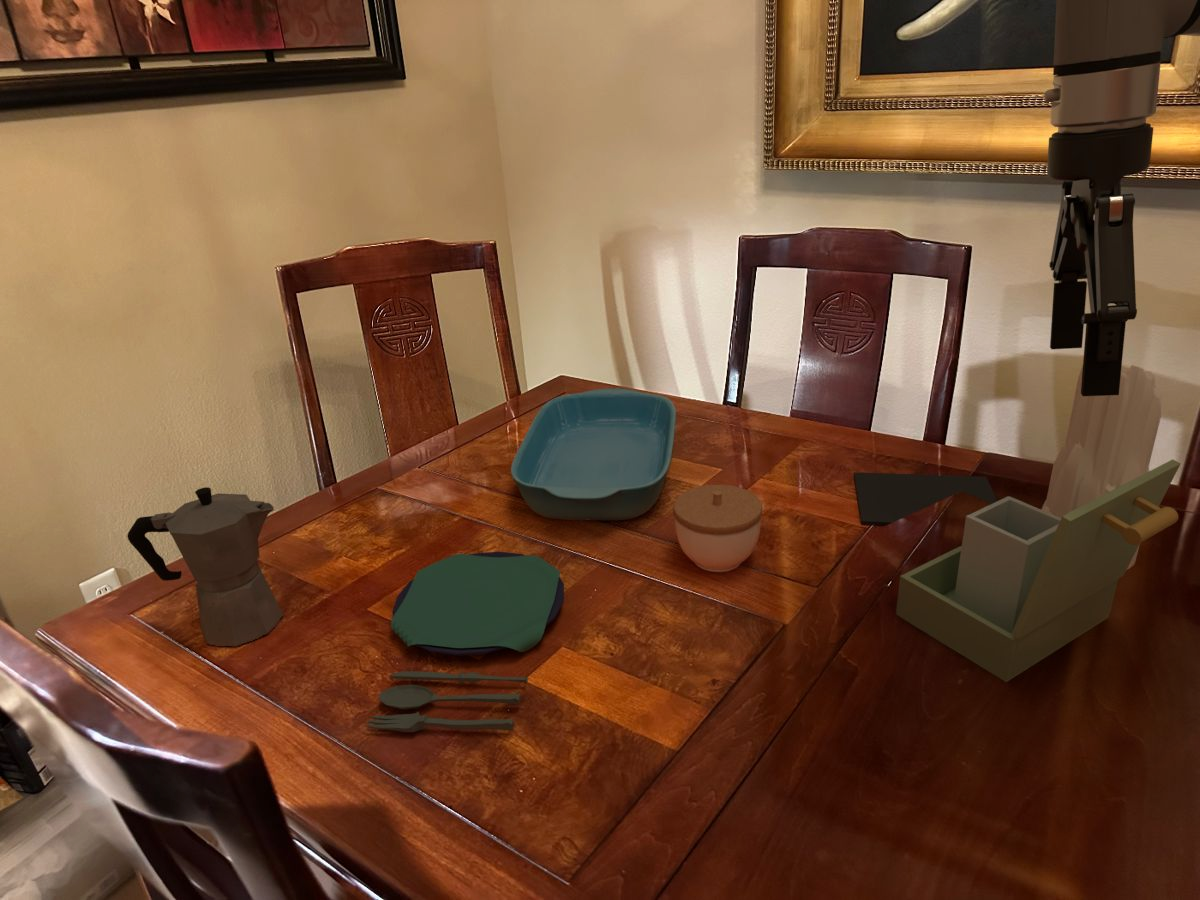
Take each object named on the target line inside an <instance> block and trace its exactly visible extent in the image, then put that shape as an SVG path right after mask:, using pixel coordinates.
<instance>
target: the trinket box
mask: <svg viewBox="0 0 1200 900" xmlns="http://www.w3.org/2000/svg"><path fill="white" fill-rule="evenodd" d="M672 509H673V515H674V530H675V534H676V535H675V536H676V538H677V539H676V540H677V541H678V542H677V543H678V545H679V547H680V548H681V550H682V552H683V553H684V554H685V556H686V557H687V558H689V559H690V561H692V562H693V564H694V565H696V567H698V568H700V569H702V570H703V571H708V572H712V573H726V572H730V571H733V570H735V569H737V568H738V567H740V566H741V564H742V563H744V562H745V561H746V560H747V559H748V558H749V557H750V556H751V555H752V553H753V552H754V551H755V549H756V547H757V544H758V542H759V539H760V535H761V534H760V533H761V528H762V516H763V503H762V501H761V500H760V498H759V497H758V496H757V495H756V494H754V493H753V492H751V491H750V490H747V489H745V488H743V487H740V486H736V485H729V484H705V485H700V486H695V487H692V488H689V489H687V490H685V491H683V492H682V493H680V494H679V495H678V496H677V497H676V498H675V500H674V501H673V505H672Z"/></svg>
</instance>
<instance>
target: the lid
mask: <svg viewBox="0 0 1200 900" xmlns="http://www.w3.org/2000/svg"><path fill="white" fill-rule="evenodd" d="M1181 464H1182V463H1181V462H1178V461H1177V460H1175V459H1170V460H1169V461H1167V462H1164V463H1163V464H1160V465H1159V466H1157V467H1155V468H1153V469H1151V470H1149V472H1147V473H1145V474H1143V475H1141V476H1139V477H1137V478H1135V479H1134V480H1132V481H1130V482H1128V483H1126V484H1124V485H1122V486H1120V487H1118V488H1116V489H1114V490H1112V491H1110V492H1108V493H1106V494H1104V495H1102V496H1101V497H1099V498H1097V499H1095V500H1093V501H1091V502H1089V503H1087V504H1085V505H1083V506H1081V507H1079V508H1077V509H1075V510H1073V511H1071V512H1069V513H1067V514H1066V515H1064V516H1062V518H1061V520H1060V523H1059V525H1058V527H1057V529H1056V532H1055V534H1054V536H1053V539H1052V541H1051V543H1050V546H1049V548H1048V550H1047V553H1046V555H1045V557H1044V559H1043V562H1042V564H1041V566H1040V569H1039V571H1038V573H1037V576H1036V578H1035V580H1034V583H1033V585H1032V587H1031V589H1030V592H1029V594H1028V596H1027V599H1026V601H1025V603H1024V606H1023V608H1022V610H1021V613H1020V615H1019V617H1018V620H1017V622H1016V624H1015V626H1014V629H1013V631H1012V633H1011V634H1012V635H1014V636H1015V637H1016V638H1018V639H1019V638H1021V637H1023V636H1024V635H1026V634H1028V633H1029V632H1031V631H1033V630H1034V629H1036V628H1038V627H1039V626H1041V625H1043V624H1044V623H1046V622H1048V621H1049V620H1051V619H1053V618H1054V617H1056V616H1057V615H1059V614H1061V613H1062V612H1064V611H1066V610H1067V609H1069V608H1071V607H1072V606H1074V605H1076V604H1077V603H1079V602H1081V601H1082V600H1084V599H1086V598H1087V597H1089V596H1091V595H1092V594H1094V593H1096V592H1097V591H1099V590H1101V589H1102V588H1104V587H1106V586H1107V585H1109V584H1111V583H1112V582H1114V581H1116V580H1117V579H1118V580H1119V579H1121V578H1123V577H1124V575H1125V574H1126V572H1127V570H1128V569H1127V568H1128V566H1129V564H1130V562H1131V560H1132V558H1133V556H1134V554H1135V552H1136V550H1137V548H1138V546H1139V547H1140V545H1141V543H1143V542H1145V541H1146V540H1148V539H1150V538H1152V537H1153V536H1155V535H1156V534H1158V533H1160V532H1162V531H1164V530H1166V529H1167V528H1169V527H1170V526H1172V525H1174V524H1176V523H1177V522H1178V521H1179V514H1178V512H1177V510H1176V509H1175V508H1173V507H1170V506H1164V507H1163V506H1162V507H1160V505H1161V503H1162V502H1163V499H1164V497H1165V495H1166V493H1167V491H1168V489H1169V488H1170V486H1171V484H1172V482H1173V480H1174V478H1175V476H1176V474H1177V472H1178V470H1179V468H1180V466H1181ZM1139 544H1140V545H1139Z"/></svg>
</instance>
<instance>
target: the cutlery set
mask: <svg viewBox="0 0 1200 900" xmlns="http://www.w3.org/2000/svg"><path fill="white" fill-rule="evenodd" d="M560 576H561V571H560V569H558V568H556V567H555V566H554V565H552V564H551V563H549V562H547V561H546V560H545V559H543V558H541V557H540V556H538V555H533V554H527V555H526V554H523V553H518V552H517V553H516V552H507V551H488V552H475V553H470V554H465V553H456V554H453V555H451V556H448V557H445V558H443V559H439V560H438V561H436V562H433V563H431V564H429V565H427V566H426V567H423V568H421V569H418V570H417V572H416V574H415V575H414V577H413V578H412V579H411V580H410V581H408V582H407V584H406V585H405V586H404V587H403V589H402V590H401V591H400V592H399V594H397V596H396V599H395V602H394V606H393V608H392V612H391V613H392V619H391V621H390V628H391V631H392V632H393V633H394V634H395V635H396V636H398V637H399V639H400V640H401V641H402V642H403V643H404V644H405V646H407V648H410V647H411V646H414V647H415V646H416V647H418V648H420V649H422V650H425V651H426V652H429V653H433V654H442V655H448V656H455V657H458V656H459V657H460V656H461V657H463V656H472V655H487V654H490V653H493V652H497V651H502V650H504V649H505V650H506V649H508V648H509V649H512V650H514V651H517V652H519V653H527V652H529V651H530V650H531V649H533V648H534V647H536V646H537V645H538V643H539V642H540V641H541V640H542V638H543V635H544V633H545V629H546V627H547V626H549V624H551V623H552V622H553V621H554V620H555V619H556V618H557V616H558V614H559V612H560V610H561V608H562V606H563V604H564V602H565V584H564V582H563V580H562V579H561V577H560ZM526 651H527V652H526ZM389 677H390V679H392V680H393V679H394V680H423V681H424V680H426V681H428V680H429V681H452V682H453V681H454V682H458V683H459V686H462V684H463V683H465V682H467V683H470V684H475V683H478V682H481V681H489V682H490V681H491V682H495V681H497V682H498V681H499V682H500V681H502V682H503V681H504V682H513V683H514V682H515V683H524V685H527V684H528V681H529V680H528V676H527V675H526V676H499V675H485V674H480V673H478V672H475V671H471V672H468V673H465V672H464V671H463V670H461V671H460V673H459V674H457V673H451V672H450V673H449V672H444V671H443V672H440V671H422V670H421V671H417V670H416V671H415V670H414V671H413V670H403V671H398V672H394V673H391V674H390V676H389ZM521 698H522V697H521V693H474V694H463V695H462V694H461V695H460V694H459V695H456V694H455V695H444V696H443V695H441V696H438V695H437V694H436V693H435V692H434V691H432V689H430V688H429V687H427V686H422V685H415V684H404V685H395V686H392V687H390V688H386V689H385V690H382V691H380V694H379V696H378V697H377V700H379V701H380V702H382V703H383V704H384V705H385V706H388V707H390V708H394V709H398V710H413V709H419V708H421V707H423V706H426V705H428V704H430V703H436V702H438V703H439V702H461V703H462V702H479V703H480V702H481V703H499V704H510V705H520V702H521ZM365 726H366V728H369V729H374V730H386V731H387V730H388V731H390V730H391V731H395V732H401V733H402V732H403V733H416V732H419V731H423V730H426V727H435V728H436V727H437V728H444V729H452V730H497V731H498V730H499V731H513V730H514V727H515V723H514V719H513V718H504V719H501V718H485V719H448V718H438V717H437V718H436V717H428V715H427V714H423V715H420V712H419V711H416V712H415V713H404V714H392V715H372V714H371V715H370V719H368V723H367V724H366V725H365Z"/></svg>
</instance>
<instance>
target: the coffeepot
mask: <svg viewBox="0 0 1200 900" xmlns="http://www.w3.org/2000/svg"><path fill="white" fill-rule="evenodd" d="M194 493H195V495H196V497H197V498H198V499H195V500H191V501H188V502H185V503H184V504H182V505H181V506H179V507H178V508H177V509H176V510H174V511H173V512H170V511H169V512H162V513H155V514H154V515H151V516H150V515H148V516H147V515H146V516H141V517H137V518H136V520H135V522H134V523H133V524H132V526H131V528H130V529H129V530H128V532H127V535H126V536H127V540H128V542H129V543H130V544H131V546H132V547H133V548H134V549H135V550H136V551H137V552H138V554H140V556H141V557H142V558H143V559H144V561H145V562H146V563H147V564H148V565H149V567H150V568H151V569H152V570H153V571H154V573H155V574H156V575H157V576H158V577H159V578H160V580H162V581H164V582H166V581H167V582H169V581H176V580H180V579H181V578H182V574H183V573H182V570H178V571H171V570H169V569H168V567H167V565H166V563H165V560H164V558H163V557H162V556H161V555H160V554H158V552H157V551H156V549H155V547H154V545H153V543H152V542H151V541H150V540H149V539H148V538H147V536H146V534H148V533H169V535H171V537H172V539H173V541H174V543H175V545H176V546H177V548H178V549H177V550H179V552H180V554H181V557H182V558H183V560H184V562H185V564H186V566H187V568H188V570H189V571H190V573H191V575H192V577H193V579H194V580H195V581H196V584H195V588H196V590H195V591H196V598H197V608H198V616H199V626H200V630H201V633H202V634H203V638H204V640H205V642H206V644H207V645H210V646H213V645H218V646H235V647H239V645H240V646H243V645H242V644H244V643H247V642H250V641H253V640H255V639H257V638H260V637H261V636H263V635H265V636H267V635H268V634H269V633H270V632H272V631H273V630H274V629H275V628H276V627H277V626H276V625H278V624H279V623H280V622H281V621H280V620H281V618H283V616H284V612H283V611H282V608H281V607H280V605H279V603H278V601H277V598H276V597H275V595H274V593H273V591H272V589H271V587H270V585H269V583H268V581H267V579H266V576H265V575H264V573H263V571H262V569H261V567H260V565H259V562H258V560H259V558H260V557H261V556H260V547H259V546H260V545H259V537H260V535H261V533H262V529H263V526H264V524H265V522H266V519H267V518H268V516H269V514H270V513H272V512H273V511H274V510H275V507H274V505H272V503H270V502H265V501H263V500H261V501H259V500H251V499H250V497H249V496H248V494H244V493H243V494H242V493H241V494H240V493H239V494H238V493H214V494H212V489H211V487H207V486H205V487H200V488H198V489H197V490H195V491H194ZM278 622H279V623H278ZM275 626H276V627H275ZM274 627H275V628H274ZM273 628H274V629H273ZM272 629H273V630H272ZM271 630H272V631H271ZM263 637H264V636H263ZM261 638H262V637H261ZM261 638H260V639H261ZM257 640H258V639H257ZM255 641H256V640H255ZM253 642H254V641H253ZM250 643H251V642H250ZM247 644H248V643H247ZM244 645H245V644H244ZM218 646H217V647H218Z"/></svg>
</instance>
